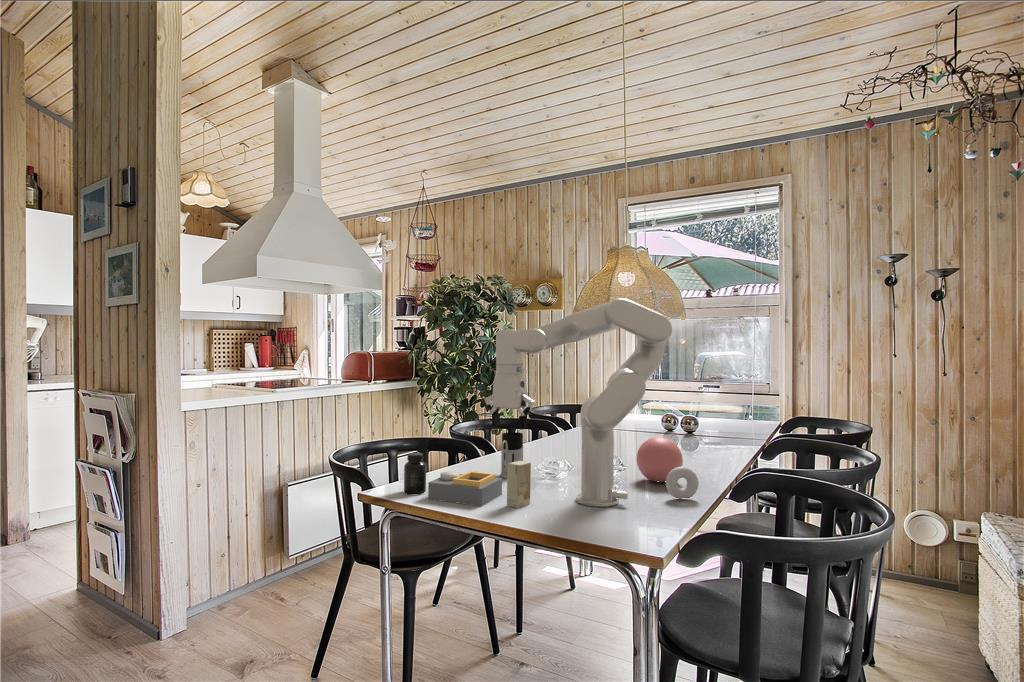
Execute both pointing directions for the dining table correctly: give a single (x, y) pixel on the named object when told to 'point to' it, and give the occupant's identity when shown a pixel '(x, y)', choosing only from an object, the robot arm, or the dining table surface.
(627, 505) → the dining table surface
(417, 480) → the supplement bottle
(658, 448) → the pink ellipsoid
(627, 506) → the dining table surface
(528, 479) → the skincare box
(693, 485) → the donut
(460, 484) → the grey rectangular block
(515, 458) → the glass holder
